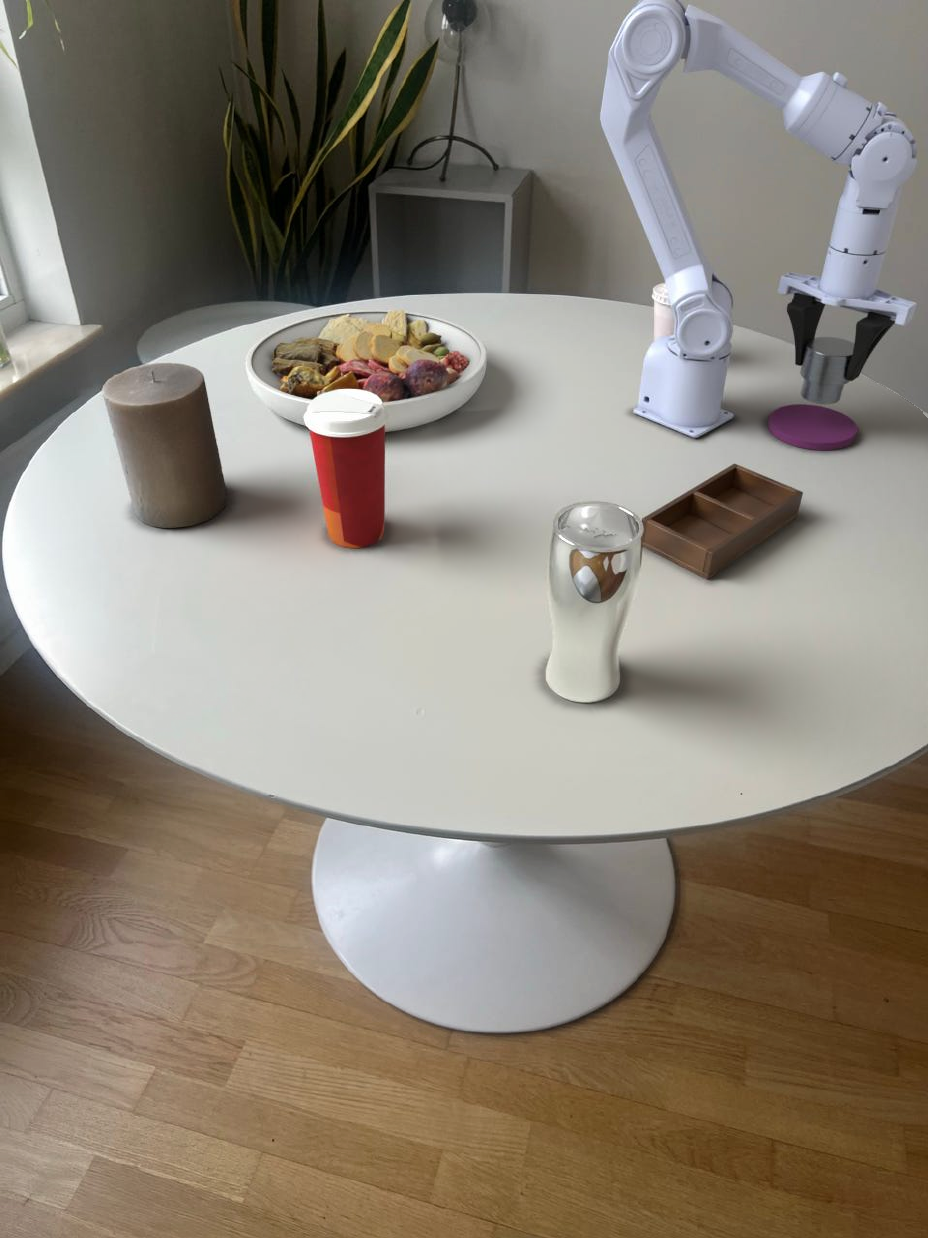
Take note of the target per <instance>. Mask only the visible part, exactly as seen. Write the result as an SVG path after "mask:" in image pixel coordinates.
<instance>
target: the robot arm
mask: <svg viewBox="0 0 928 1238" xmlns="http://www.w3.org/2000/svg"><path fill="white" fill-rule="evenodd" d="M622 21H623V22H622V23H621V25H620V27H619V30H618V31H617V34H616V36H615V38H614V40H613V42H612V44H611V46H610V48H609V51H608V56H607V69H606V75H605V82H604V86H603V95H602V101H601V108H600V113H599V120H600V125H601V128H602V131H603V133H604V136H605V139H606V140H607V143H608V145H609V147H610V150H611V153H612V155H613V158H614V161H615V162H616V166H617V167H618V169H619V172H620V174H621V177H622V180H623V182H624V184H625V186H626V189H627V192H628V193H629V196H630V199H631V201H632V203H633V206H634V209H635V211H636V213H637V216H638V219H639V220H640V223H641V225H642V228H643V230H644V233H645V235H646V237H647V240H648V242H649V246H650V248H651V250H652V252H653V255H654V257H655V259H656V262H657V264H658V267H659V270H660V272H661V274H662V277H663V280H664V283H666V287H667V292H668V297H669V302H670V306H671V308H672V311H673V313H674V317H675V327H674V334H673V335H671V336H666V335H664V336H661V337H659V338H657V339H656V340H655V341H654V340H653V342H651V344H650V345H649V347H648V349H647V351H646V353H645V356H644V358H643V362H642V368H641V369H642V370H641V375H640V376H641V378H640V384H639V394H638V401H637V406H635V407H634V408H633V414H635V415H637V416H640V417H641V418H642V417H643V418H645V419H647V420H650V421H652V422H654V423H657V424H660V425H662V426H664V427H667V428H670V429H672V430H674V431H676V432H679V433H681V434H684V435H686V436H689V437H691V438H694V439H695V438H697V439H698V438H699V437H701V436H703V435H705V434H707V433H708V432H710V431H712V430H714V429H715V428H717V427H719V426H721V425H723V424H725V423H726V422H728V421H730V420H732V419H733V418H734V416H735V415H734V413H733V412H730V411H727V410H725V409H723V408H722V402H723V396H724V391H725V386H726V379H727V376H728V375H727V374H728V369H729V364H730V358H731V353H732V347H733V346H732V343H731V341H732V337H733V333H734V324H733V320H732V319H733V318H732V317H733V315H732V314H733V313H732V311H733V307H734V297H733V294H732V291H731V289H730V287H729V286H728V285H727V284H726V282H724V281H723V280H722V279H720V278H719V277H718V276H717V274H716V273H715V271H714V270H715V269H714V268H713V266H712V263H711V262H710V260H709V259H708V258H707V256H706V254H705V253H704V250H703V247H702V245H701V242H700V239H699V237H698V234H697V232H696V229H695V227H694V224H693V222H692V219H691V215H690V213H689V211H688V209H687V205H686V204H685V203H686V202H685V201H684V198H683V195H682V193H681V190H680V188H679V184H678V183H677V180H676V178H675V177H676V176H675V174H674V172H673V170H672V167H671V164H670V161H669V159H668V157H667V154H666V151H665V149H664V146H663V143H662V141H661V138H660V136H659V133H658V131H657V128H656V125H655V123H654V120H653V118H652V115H651V114H652V113H651V111H652V109H653V106H654V104H655V102H656V99H657V96H658V94H659V91H660V88H661V86H662V84H663V82H665V80H666V79H668V77H669V76H670V74H671V73H672V72H673V70H674V69H675V67H676V66H677V65H678V63H679V62H680V60H684V66H683V69H682V73H685V74H687V73H695V72H696V73H697V72H704V71H715V72H718V73H719V74H721V75H723V76H724V77H726V78H727V79H729V80H731V81H733V82H734V83H736V84H738V85H739V86H740V87H743V88H744V89H746V90H747V91H750V92H751V93H752V94H754V95H756V96H758V97H759V98H761V99H763V100H765V101H767V103H769V104H771V105H773V106H774V107H777V108H778V109H779V110H781V112H782V120H783V121H782V122H783V129H784V131H785V132H787V133H789V134H790V135H791V136H793V137H794V138H796V139H797V140H799V141H801V142H802V143H803V144H805V145H807V146H809V147H810V148H811V149H813V150H815V151H816V152H818V153H819V154H821V155H822V156H824V157H825V158H827V159H829V160H830V161H832V162H833V163H835V164H837V165H838V164H844V165H848V167H849V168H850V170H848V171H847V174H846V179H845V183H844V187H843V192H842V195H841V196H840V198H839V201H838V205H837V210H836V214H835V217H834V222H833V226H832V231H831V234H830V239H829V243H828V246H827V252H826V254H825V255H826V256H825V260H824V265H823V269H822V274H821V276H815V275H809V274H802V273H795V272H791V271H789V272H787V273H785V274H783V275H781V276H780V280H779V285H778V288H777V289H778V290H777V294H779V295H782V296H788V295H793V297H792V299H791V301H790V302H788V303H787V305H786V313H787V315H788V318H789V321H790V325H791V328H792V333H793V339H794V340H793V341H794V353H795V355H794V357H795V359H794V360H795V361H794V365H795V366H799V367H801V366H802V362H803V358H804V354H805V349H806V345H807V342H808V341H809V340H811V339H813V338H816V333H817V329H818V326H819V323H820V320H821V317H822V315H823V311H824V309H825V307H826V305H827V306H831V307H838V308H842V309H846V310H850V311H854V312H858V313H861V314H866V317H863V318H861V319H859V320H858V321H857V322H856V325H855V334H854V335H855V336H854V342H853V343H854V349H853V354H852V357H851V360H850V364H849V367H848V370H847V375H846V380H849V381H850V382H853V381H855V380H856V379H858V378H859V377H860V375H861V374H862V371H863V369H864V366H865V365H866V362H867V361H868V359H869V358H870V356H871V354H872V353H873V351H874V350H875V349H876V347H877V345H878V344H879V343H880V341H881V340H882V339H883V338H884V336H885V335H886V334H887V333H888V332H889V330H891V328H892V327H893V326H894V325H895V324H896V325H899V326H906V325H908V324H909V323H910V322H912V321H913V317H914V314H915V311H916V307H917V305H918V303H917V302H914V301H911V300H907V299H905V298H903V297H902V298H901V297H899V296H897V295H894V294H891V293H889V292H887V291H884V290H882V289H879V288H877V285H878V282H879V279H880V275H881V270H882V267H883V263H884V260H885V256H886V252H887V249H888V246H889V242H890V239H891V236H892V231H893V227H894V223H895V221H896V217H897V214H898V209H899V199H900V196H901V193H902V191H903V187H904V183H905V182H906V181H907V180H908V179H909V178H910V177H911V176H912V174H913V173H914V171H915V169H916V168H917V165H918V162H919V160H918V159H917V152H918V149H917V147H918V146H917V142H916V140H915V137H914V135H913V134H912V133H911V131H910V130H909V128H908V126H907V125H906V124H905V122H903V120H901V119H900V118H898V116H897V114H896V113H895V112H891V111H888V110H889V108H888V107H887V105H886V104H884V103H882V102H881V101H879V102H877V103H876V105H875V104H874V103H871V101H869V100H868V99H866V98H865V97H863V96H861V95H860V94H858V93H857V92H856V91H854V90H852V89H851V88H849V87H847V84H848V83H849V79H848V78H847V77H846V76H845V75H843V74H842V73H841V72H839V71H836V72H835V73H833V75H832V76H831V75H829V74H828V73H827V72H825V71H819V72H816V73H813V74H810V75H806V76H804V75H803V76H801V75H800V74H799V73H797V72H795V71H794V70H793V69H792V68H790V67H789V66H787V65H785V64H784V63H783V62H781V61H780V60H778V58H776V57H775V56H773V55H772V54H770V53H769V52H767V50H765V49H763V48H762V47H761V46H759V45H758V44H757V43H756V42H754V41H753V40H751V39H749V38H748V37H747V36H745V35H744V34H742V33H741V32H740V31H738V30H737V29H735V27H733V26H731V25H730V24H728V23H727V22H725V21H724V20H722V19H720V18H718V17H717V16H715V15H713V14H711V13H709V12H707V11H706V10H703V9H701V8H700V7H698V6H694V5H692V4H688V5H687V8H686V7H685V5H684V4H683V3H682V1H681V0H639V1H638V2H636V4H635V5H634V6H633V8H631V11H630V12H629V13H628V14H627V15H626V16H625V18H624V19H623V20H622Z"/></svg>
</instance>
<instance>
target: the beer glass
mask: <svg viewBox="0 0 928 1238" xmlns="http://www.w3.org/2000/svg"><path fill="white" fill-rule="evenodd" d="M643 531H644V527H643V523H642V519H641V518H640V517H639V516H638V515H637V513H635V512H634V511H632V510H631V509H629V508H627V507H625V506H622V505H619V504H618V503H613V502H608V501H600V500H587V501H586V500H585V501H579V502H575V503H571V504H569V505H567V506H565V507H563V508H561V509H560V510H559V511H558V512H556V514H555V515H554V517H553V519H552V529H551V535H550V540H549V547H548V553H547V563H546V592H547V593H546V595H547V603H548V611H549V617H550V618H549V619H550V623H551V630H552V632H551V633H552V645H551V646H552V647H551V652H550V655H549V658H548V661H547V664H546V667H545V680H546V683H547V685H548V687H549V689H551V690H552V691H553V692H554V693H555V694H556V695H557V696H559V697H561V698H563V699H566V700H568V701H571V702H575V703H581V704H583V703H584V704H585V703H586V704H587V703H590V704H591V703H596V702H600V701H603V700H605V699H607V698H609V697H611V696H612V695H613V694H614V693H616V691H617V690H618V688H619V685H620V682H621V670H620V664H619V663H620V662H619V661H620V660H619V652H620V651H619V650H620V646H621V641H622V638H623V635H624V632H625V630H626V627H627V624H628V621H629V619H630V617H631V614H632V611H633V608H634V604H635V602H636V598H637V594H638V590H639V585H640V579H641V573H642V564H643V563H642V562H643V561H642V560H643V546H642V540H643Z"/></svg>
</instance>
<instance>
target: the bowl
mask: <svg viewBox="0 0 928 1238" xmlns="http://www.w3.org/2000/svg"><path fill="white" fill-rule="evenodd" d="M487 359H488V354H487V348H486V345H485V344H484V342H483V341H482V339H481V338H480V337H479V336H478V335H477V334H475V332H473V331H471V330H470V329H468V328H467V327H465V326H464V325H461V324H460V323H457V322H455V321H454V322H453V321H452V320H449V319H446V318H443V317H439V316H436V315H431V314H427V313H421V312H414V311H407V310H402V309H401V310H393V309H357V310H345V311H337V312H330V313H325V314H319V315H314V316H310V317H306V318H302V319H299V320H296V321H293V322H290V323H287V324H285V325H282V326H280V327H278V328H275V329H274V330H272V331H270V332H268V333H266V334H265V335H264V336H262V337H261V338H259V339H258V340H257V341H256V342H255V343H254V344H253V345H252V346H251V347H250V349H249V350H248V352H247V354H246V357H245V369H246V376H247V379H248V381H249V385H250V387H251V389H252V390H253V392H254V394H255V395H256V397H257V398H258V399H259V400H260V401H261V402H262V404H264V406H266V407H267V408H268V409H270V410H271V411H272V412H274V413H275V414H277V415H278V416H281V417H282V418H284V419H286V420H288V421H290V422H293V423H295V424H298V425H301V426H304V427H307V426H306V424H305V420H304V415H305V413H306V412H307V407H308V405H309V404H310V403H311V401H312V400H313V399H314V398H316V397H317V396H319V395H321V394H323V393H326V392H330V391H334V390H339V389H358V390H364V391H368V392H371V393H373V394H375V395H377V396H378V397H379V398H380V399H381V401H382V403H383V406H384V408H385V409H386V411H387V413H388V420H387V422H386V423H385V433H388V432H396V431H401V430H406V429H412V428H414V427H419V426H423V425H426V424H429V423H431V422H435V421H436V420H439V419H442V418H444V417H446V416H448V415H450V414H451V413H453V412H455V411H456V410H458V409H459V408H461V407H462V406H463V405H464V404H466V403H467V402H468V401H469V400H470V399H471V398H472V397H473V396H474V395H475V394H476V392H477V391H478V389H479V388H480V386H481V384H482V382H483V380H484V377H485V373H486V370H487Z"/></svg>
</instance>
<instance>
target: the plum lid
mask: <svg viewBox="0 0 928 1238" xmlns="http://www.w3.org/2000/svg"><path fill="white" fill-rule="evenodd" d="M767 428H768V431H769V432H770V434H772V436H774V437H775V438H776V439H778V440H780V441H781V442H783V443H785V444H788V445H791V446H792V447H793V446H794V447H796V448H801V449H806V450H813V451H832V450H833V451H834V450H839V449H843V448H846V447H848V446H849V445H851V444H852V443H853V442H854V441H855V439H856V436H857V433H858V426H857V424H856V422H855V421H854V420H853V419H852V418H851V417H850V416H848V415H846V414H845V413H842V412H840V411H837V410H836V409H833V408H830V407H826V406H822V405H816V404H805V403H803V404H802V403H799V404H796V403H795V404H788V405H787V404H786V405H783V406H780V407H778V408H776V409H774V410H773V411H772V412H771V413H770V415H769V417H768V421H767Z"/></svg>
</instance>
